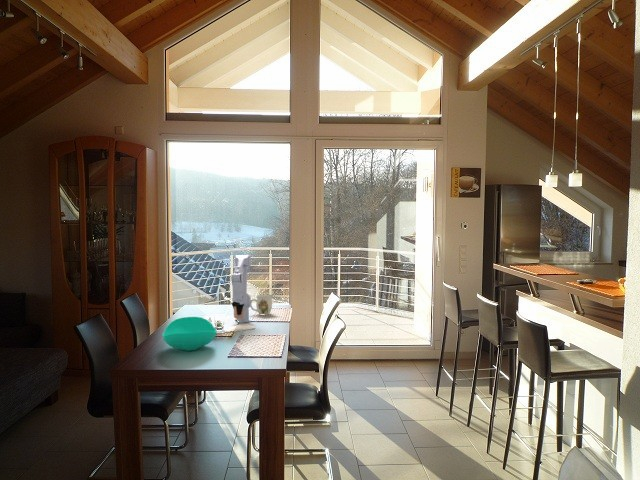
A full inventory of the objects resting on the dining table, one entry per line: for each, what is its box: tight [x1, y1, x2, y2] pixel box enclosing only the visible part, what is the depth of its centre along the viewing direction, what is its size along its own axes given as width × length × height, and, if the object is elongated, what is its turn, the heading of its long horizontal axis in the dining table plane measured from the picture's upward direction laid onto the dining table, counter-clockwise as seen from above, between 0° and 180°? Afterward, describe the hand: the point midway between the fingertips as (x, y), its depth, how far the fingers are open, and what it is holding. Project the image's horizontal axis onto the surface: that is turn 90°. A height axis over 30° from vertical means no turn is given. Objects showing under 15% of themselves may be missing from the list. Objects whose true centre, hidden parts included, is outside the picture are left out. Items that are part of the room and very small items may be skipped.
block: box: [233, 306, 243, 320], centre depth 307 cm, size 4×4×7 cm
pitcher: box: [249, 294, 276, 315], centre depth 348 cm, size 11×18×14 cm, turn 92°
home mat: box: [233, 323, 256, 333], centre depth 307 cm, size 14×18×1 cm
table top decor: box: [162, 316, 217, 352], centre depth 263 cm, size 40×28×13 cm
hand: (237, 314), depth 307 cm, fingers closed on block, 4 cm apart
